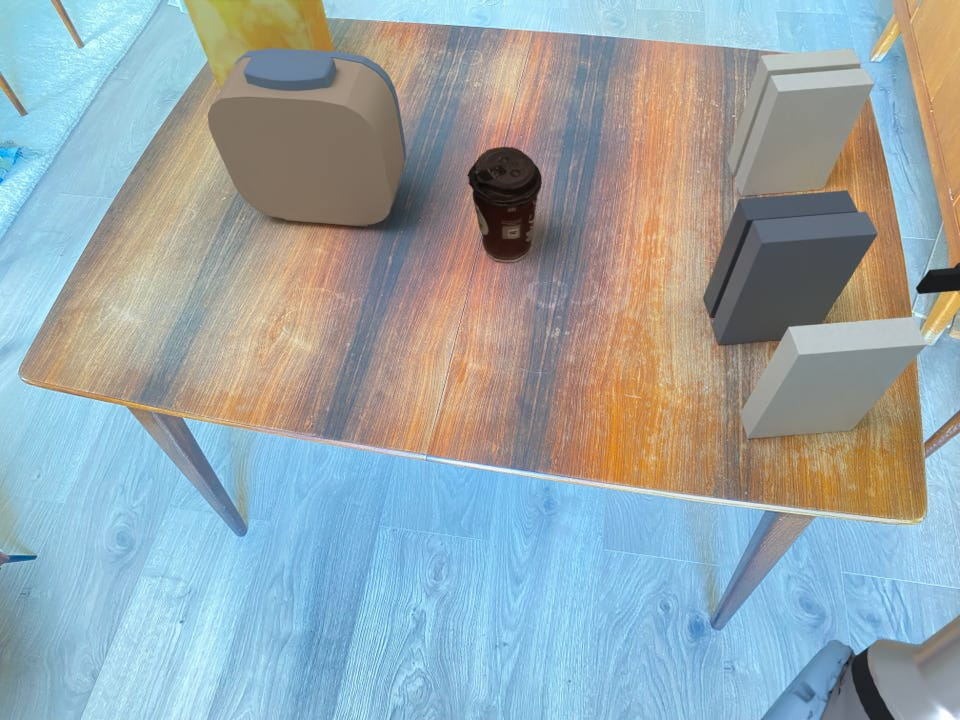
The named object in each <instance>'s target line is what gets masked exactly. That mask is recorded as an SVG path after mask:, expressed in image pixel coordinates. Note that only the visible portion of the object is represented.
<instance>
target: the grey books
mask: <svg viewBox="0 0 960 720" xmlns="http://www.w3.org/2000/svg"><path fill="white" fill-rule="evenodd" d="M878 235H879V232H878V230H877V229H876V227H875V225H874V223H873V220H872V219H871V217H870V215H869V214H868V212H867V211H866V210H865V211H859V209H858V208H857V206H856V204H855V202H854V201H853V199H852V197H851V195H850V192H849V191H848V189H845V190H835V191H833V190H832V191H821V192H808V193H797V194H785V195H783V194H782V195H771V196H760V197H758V196H757V197H747V198H738V200H737V203H736V206H735V208H734V212H733V214H732V217H731V219H730V222H729V226H728V228H727V231H726V234H725V236H724V239H723V242H722V245H721V247H720V250H719V253H718V255H717V259H716V261H715V263H714V266H713V269H712V272H711V275H710V278H709V281H708V282H707V283H708V284H707V286H706V289H705V292H704V295H703V298H702V299H703V302H704V305H705V308H706V311H707V315H708V317H709V318H713V320H712V323H711V327H712V330H713V334H714V337H715V339H716V343H717V345H718V346H725V345H734V344H735V345H736V344H737V345H738V344H750V343H762V342H773V341H776V342H777V341H781V340H782V338H783V336H784V334H785V332H786V331H787V329H788V327H793V326H805V325H818V324H824V322H825V320H826V318H827V316H828V315H829V313H830V312H831V310H832V308H833V307H834V306H835V304H836V302H837V301H838V299H839V297H840V296H841V294H842V292H843V291H844V289H845V288H846V286H847V284H848V283H849V281H850V280H851V278H852V277H853V276H854V273H855V272H856V270H857V269H858V268H859V265H860V264H861V262H862V260H863V259H864V258H865V256H866V254H867V253H868V251H869V250H870V247H872V244H873V243H874V242H875V240H876V238H877V237H878Z"/></svg>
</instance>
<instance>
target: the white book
mask: <svg viewBox="0 0 960 720" xmlns="http://www.w3.org/2000/svg"><path fill="white" fill-rule="evenodd" d="M927 345H928V343H927V341H926V340H925V338H924V336H923V334H922V332H921V330H920V328H919V326H918V323H917V322H916V320H915V318H914V316H906V317H894V318H884V319H883V318H882V319H870V320H858V321H857V320H856V321H855V320H854V321H845V322H830V323H822V324H818V325H805V326H793V327H788V329H787V331H786V332H785V334H784V336H783V338H782V340H779V343H778V345H777V347H776V349H775V350H774V352H773V354H772V356H771V358H770V359H769V361H768V362H767V364H766V366H765V368H764V370H763V372H762V374H761V375H760V377H759V379H758V381H757V383H756V384H755V386H754V388H753V390H751V393H750V395H749V396H748V399H747V400H746V402H745V403H744V406H743V408H742V409H741V411H740V412H739V417H740V421H741V423H742V426H743V429H744V433H745V436H746V439H747V440H750V439H751V440H752V439H762V438H764V439H765V438H775V437H788V436H789V437H790V436H800V435H812V434H825V433H827V434H828V433H838V432H839V433H840V432H852V430H854V428H855V427H856V426H857V425H858V424H859V423H860V421H861V420H862V419H863V418H864V417H865V416H866V415H867V413H868V412H869V411H870V410H871V409H872V408H873V407H874V405H875V404H876V403H877V402H878V401H879V400H880V399H881V398H882V397H883V395H884V394H886V392H887V391H888V389H889V388H890V387H891V386H892V385H893V384H894V383H895V382H896V380H897V379H898V378H899V377H900V376H901V375H902V373H903V372H904V371H906V369H907V368H908V367H909V366H910V365H911V364H912V362H913V361H914V360H915V359H916V358H917V357H918V356H919V354H920V353H921V352H922V351H923V350H924V349H925V348H926V346H927Z"/></svg>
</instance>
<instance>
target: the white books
mask: <svg viewBox="0 0 960 720" xmlns="http://www.w3.org/2000/svg"><path fill="white" fill-rule="evenodd" d="M861 65H862V61H861V59H860V58H859V56H858V55H857V53H856V52H855V50H854V48H853V47H852V48H851V47H849V48H838V49H827V50H826V49H825V50H813V51H802V52H790V53H789V52H788V53H777V54H776V53H775V54H765V55H760V58H759V61H758V64H757V67H756V69H755V73H754V76H753V79H752V81H751V85H750V89H749V91H748V95H747V97H746V101H745V104H744V107H743V109H742V113H741V117H740V120H739V123H738V126H737V129H736V132H735V136H734V138H733V141H732V144H731V147H730V151H729V154H728V157H727V160H726V162H727V165H728V167H729V170H730V173H731V175H732V176H735V179H734V182H735V186H736V189H737V190H738V193H739V195H740V197H747V196H760V195H772V194H773V195H774V194H786V193H798V192H808V191H809V192H810V191H823V189H824V188H825V186H826V184H827V182H828V180H829V178H830V175H831V174H832V171H833V170H834V167H835V165H836V163H837V161H838V159H839V158H840V156H841V153H842V151H843V149H844V147H845V145H846V143H847V141H848V139H849V137H850V136H851V133H852V132H853V128H854V127H855V124H856V122H857V121H858V118H859V117H860V114H861V113H862V111H863V109H864V106H865V104H866V102H867V100H868V99H869V97H870V94H871V92H872V91H873V88H874V86H875V82H874V81H873V79H872V76H871V75H870V74H869V72H868V70H867V69H866V67H862V68H861Z"/></svg>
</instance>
